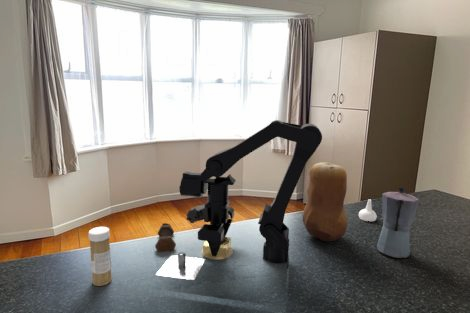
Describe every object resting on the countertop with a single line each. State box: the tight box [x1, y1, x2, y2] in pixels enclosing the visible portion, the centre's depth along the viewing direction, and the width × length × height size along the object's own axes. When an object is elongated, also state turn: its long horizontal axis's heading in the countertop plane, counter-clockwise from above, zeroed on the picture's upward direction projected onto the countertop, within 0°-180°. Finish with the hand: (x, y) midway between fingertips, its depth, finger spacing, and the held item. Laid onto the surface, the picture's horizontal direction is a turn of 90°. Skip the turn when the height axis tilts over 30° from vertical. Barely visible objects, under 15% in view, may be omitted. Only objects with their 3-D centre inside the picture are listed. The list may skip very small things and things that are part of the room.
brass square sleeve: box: [202, 236, 232, 259], centre depth 89 cm, size 7×7×3 cm
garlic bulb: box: [358, 198, 378, 223], centre depth 117 cm, size 6×6×8 cm
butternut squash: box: [302, 161, 348, 243], centre depth 98 cm, size 14×13×25 cm
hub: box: [155, 251, 206, 281], centre depth 80 cm, size 10×10×4 cm
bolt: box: [154, 222, 177, 253], centre depth 95 cm, size 6×5×15 cm
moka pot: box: [376, 186, 420, 259], centre depth 90 cm, size 10×15×20 cm, turn 155°
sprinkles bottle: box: [88, 226, 113, 287], centre depth 74 cm, size 5×5×13 cm
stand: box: [201, 247, 234, 260], centre depth 89 cm, size 9×9×4 cm
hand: (217, 250), depth 89 cm, fingers closed on brass square sleeve, 7 cm apart
